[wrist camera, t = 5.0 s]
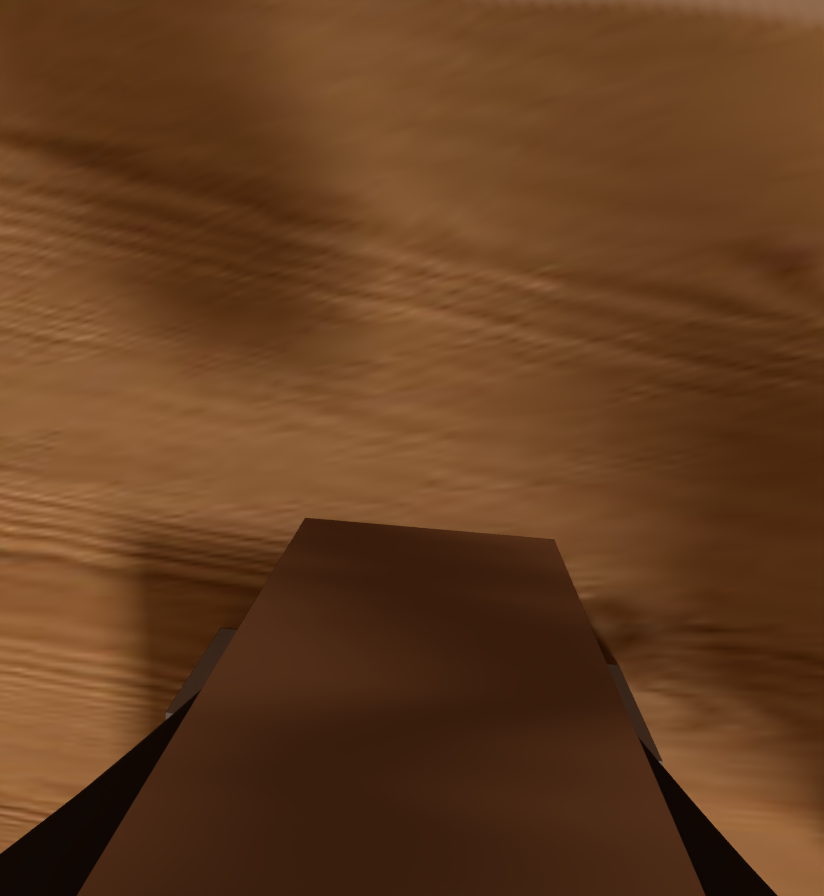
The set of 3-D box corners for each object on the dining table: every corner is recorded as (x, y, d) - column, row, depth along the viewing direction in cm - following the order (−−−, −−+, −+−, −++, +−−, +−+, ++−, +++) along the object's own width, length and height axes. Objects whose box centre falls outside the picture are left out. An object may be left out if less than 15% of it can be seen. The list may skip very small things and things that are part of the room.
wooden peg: (553, 539, 11) (1035, 1676, 2) (523, 747, 12) (739, 2017, 3) (305, 517, 11) (-274, 1478, 2) (300, 724, 12) (-82, 1879, 3)
